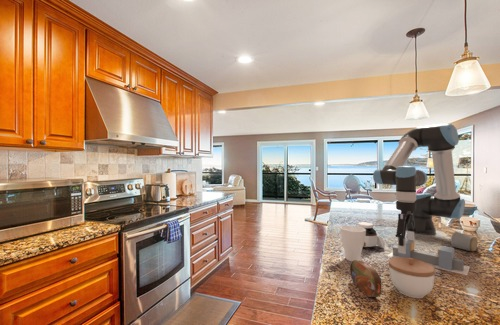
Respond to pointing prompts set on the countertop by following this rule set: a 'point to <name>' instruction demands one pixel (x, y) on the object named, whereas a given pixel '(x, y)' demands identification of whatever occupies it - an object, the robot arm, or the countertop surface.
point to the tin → (366, 278)
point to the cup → (353, 241)
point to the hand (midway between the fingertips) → (406, 249)
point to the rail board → (433, 260)
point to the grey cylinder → (464, 241)
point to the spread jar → (371, 236)
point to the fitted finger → (445, 257)
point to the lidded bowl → (411, 276)
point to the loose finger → (408, 248)
